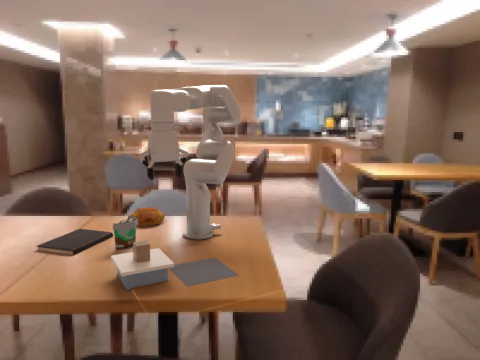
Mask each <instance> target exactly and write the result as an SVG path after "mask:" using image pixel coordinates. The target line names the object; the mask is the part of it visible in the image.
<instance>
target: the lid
mask: <svg viewBox="0 0 480 360" xmlns="http://www.w3.org/2000/svg"><path fill="white" fill-rule="evenodd" d="M110 259H111V261H112V263H113V264H114V266H115V268H116V269H118V271H119V273H120V274H121V276H127V275H132V274H137V273H143V272H148V271H154V270H159V269H165V268H168V269H170V267H174V265H175V262H174V261H173V260H172V259H171V258H169V257H168V255H166V254H165V253H164V252H163V251H162V250H161V249H160V248H159V247H158V248H152V249H151V244H150V243H149V242H148V240H141V241H140V240H139V241H136V242H133V247H132V252H131V251H130V252H125V253H119V254H112V255H110Z"/></svg>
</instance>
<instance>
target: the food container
mask: <svg viewBox="0 0 480 360" xmlns="http://www.w3.org/2000/svg"><path fill="white" fill-rule="evenodd" d="M137 225H138V221H137V219H136V217H133V216H130V215H127V218H126V219H123V220H120V221H119V222H118V223H115V222H114V223H112V230H113V237H114V245H115V250H127V249H131V248H133V242H137V240H136V238H137V227H138V226H137Z"/></svg>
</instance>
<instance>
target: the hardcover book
mask: <svg viewBox="0 0 480 360" xmlns="http://www.w3.org/2000/svg"><path fill="white" fill-rule="evenodd" d="M113 237H114V232H112V231H104V230H95V229H87V228H86V229H85V228H78V229H75V230H74V231H71V232H68V233H65V234H63V235H60V236H57V237H55V238H53V239H50V240H48V241H45V242H42V243H40V244H37V245H36V246H35V247H36V248H37V251H40V252H49V253H55V254H61V255H62V254H64V255H71V256H75V255H77V254H79V253H82V252H83V251H86V250H88V249H89V248H91V247H94V246H96V245H98V244H100V243H102V242H105V241H106V240H109V239H111V238H113Z"/></svg>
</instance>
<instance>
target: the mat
mask: <svg viewBox="0 0 480 360" xmlns="http://www.w3.org/2000/svg"><path fill="white" fill-rule="evenodd" d="M169 270H171V271H172V273H173V274H174V275H175V276H177V278H178V279H179V280H180V281H181V282H182V283H183V284H184V286H186V287H190V286H191V287H192V286H196V285H201V284H205V283H211V282H214V281H215V282H216V281H219V280H225V279H229V278H233V277H238V276H239V277H240V274H238V273H237V272H235V271H234V270H233V269H232V268H230V267H229V266H227V265H226V264H225V263H223V262H222V261H221V260H219V259H218V258H217V257H211V258H205V259H199V260H195V261H189V262H184V263H179V264H178V263H177V264H174V267H170V268H169Z"/></svg>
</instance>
